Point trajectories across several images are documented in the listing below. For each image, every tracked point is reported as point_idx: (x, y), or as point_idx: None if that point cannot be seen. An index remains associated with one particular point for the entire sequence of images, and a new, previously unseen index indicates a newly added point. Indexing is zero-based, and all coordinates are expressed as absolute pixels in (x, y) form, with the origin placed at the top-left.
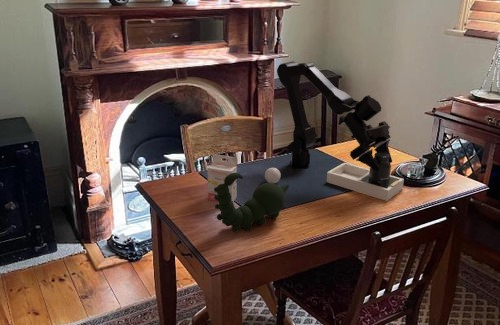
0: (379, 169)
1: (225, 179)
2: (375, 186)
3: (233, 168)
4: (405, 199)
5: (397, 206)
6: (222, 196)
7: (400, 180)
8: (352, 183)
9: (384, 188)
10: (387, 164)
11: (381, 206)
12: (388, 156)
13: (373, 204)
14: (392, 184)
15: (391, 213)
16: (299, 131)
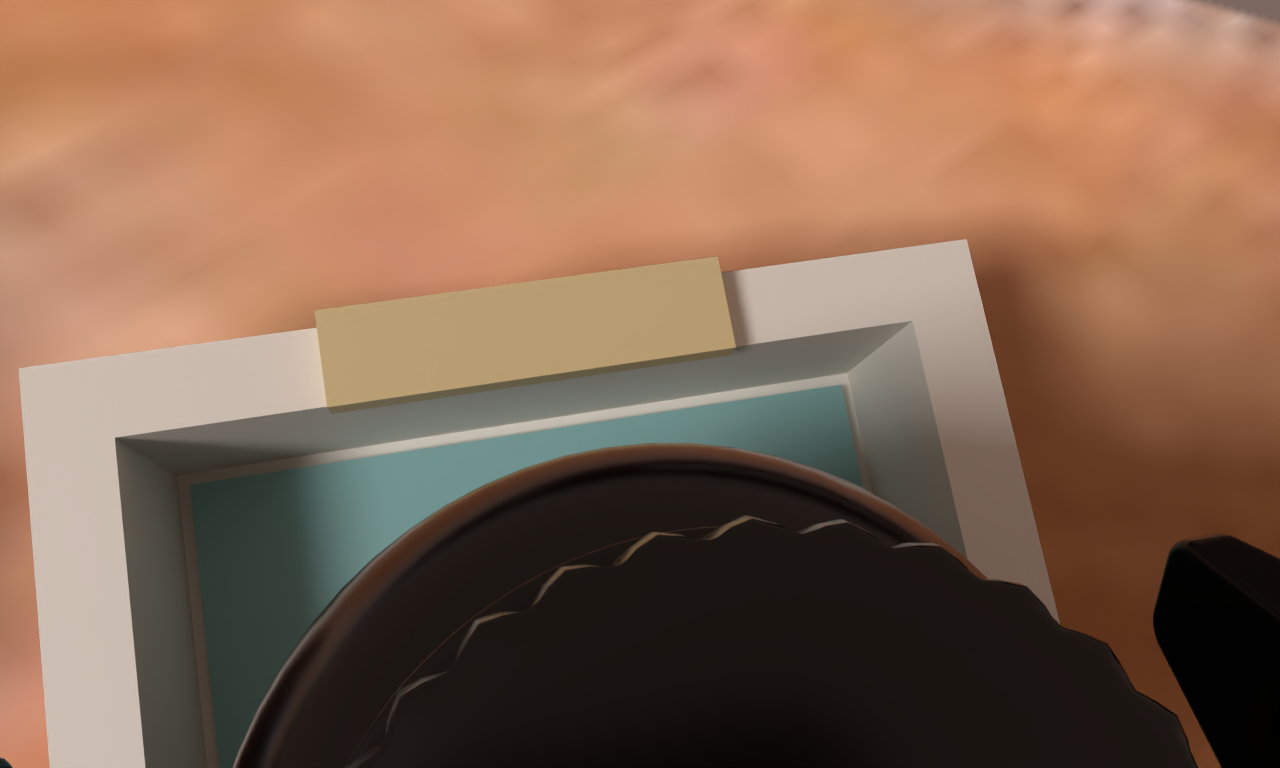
0: (1219, 538)
1: None
2: (1044, 580)
3: None
4: (527, 124)
5: (897, 73)
6: None
7: (186, 378)
8: None
9: (947, 365)
10: (717, 518)
11: (1131, 260)
12: (687, 539)
13: (1192, 404)
14: (660, 323)
15: (1186, 8)
16: None
